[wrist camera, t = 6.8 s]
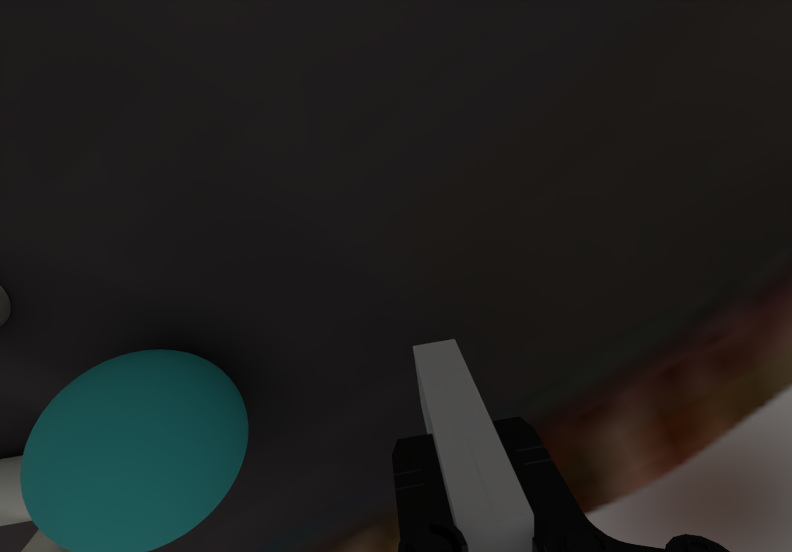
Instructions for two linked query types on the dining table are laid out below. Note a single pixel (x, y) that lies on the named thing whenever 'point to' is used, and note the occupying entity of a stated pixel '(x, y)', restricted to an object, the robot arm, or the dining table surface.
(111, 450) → the ball
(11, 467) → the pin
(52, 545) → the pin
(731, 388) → the dining table surface
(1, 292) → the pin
